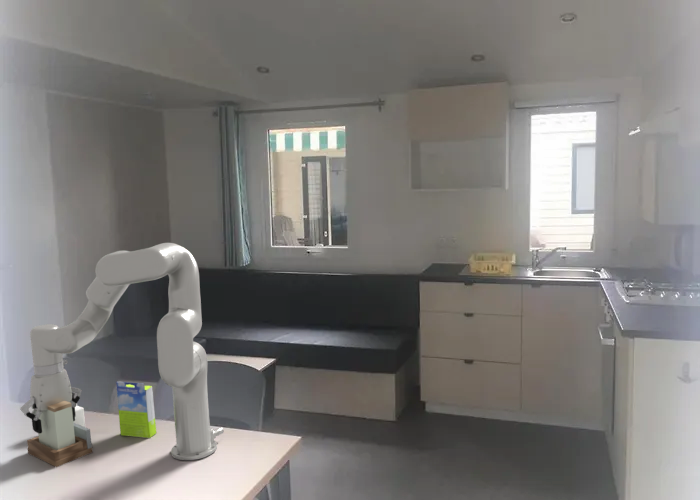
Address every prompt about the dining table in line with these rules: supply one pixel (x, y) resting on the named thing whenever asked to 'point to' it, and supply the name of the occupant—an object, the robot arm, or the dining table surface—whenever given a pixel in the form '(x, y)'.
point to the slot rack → (66, 453)
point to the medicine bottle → (79, 414)
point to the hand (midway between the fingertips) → (55, 426)
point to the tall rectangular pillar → (57, 426)
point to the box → (136, 409)
